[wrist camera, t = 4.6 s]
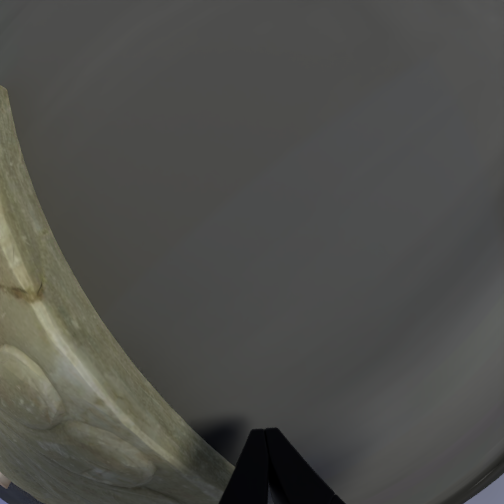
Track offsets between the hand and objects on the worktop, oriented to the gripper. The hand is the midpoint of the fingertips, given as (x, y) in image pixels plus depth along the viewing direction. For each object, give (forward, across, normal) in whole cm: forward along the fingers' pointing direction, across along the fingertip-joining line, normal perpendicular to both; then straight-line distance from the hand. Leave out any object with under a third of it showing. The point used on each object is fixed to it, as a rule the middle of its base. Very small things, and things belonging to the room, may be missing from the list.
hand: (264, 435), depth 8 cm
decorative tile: (+2, +13, 0) cm, 14 cm away
